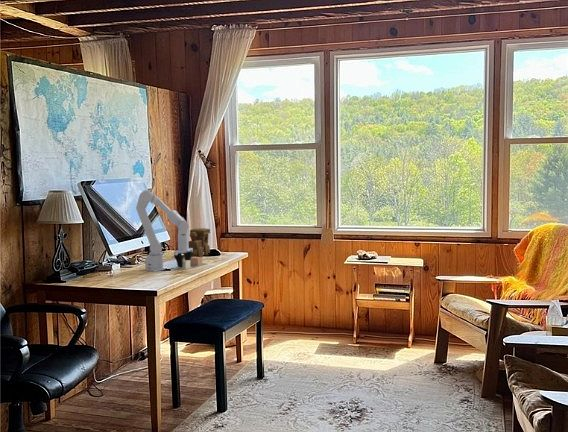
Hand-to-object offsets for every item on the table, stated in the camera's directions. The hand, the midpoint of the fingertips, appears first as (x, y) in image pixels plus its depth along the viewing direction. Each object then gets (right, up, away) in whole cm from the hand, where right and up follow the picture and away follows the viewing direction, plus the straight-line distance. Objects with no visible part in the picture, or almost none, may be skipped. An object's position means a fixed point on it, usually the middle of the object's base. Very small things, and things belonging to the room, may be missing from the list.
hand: (183, 266), depth 320 cm
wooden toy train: (+1, +2, +42) cm, 43 cm away
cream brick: (0, -1, 0) cm, 1 cm away
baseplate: (+3, -1, +5) cm, 6 cm away
